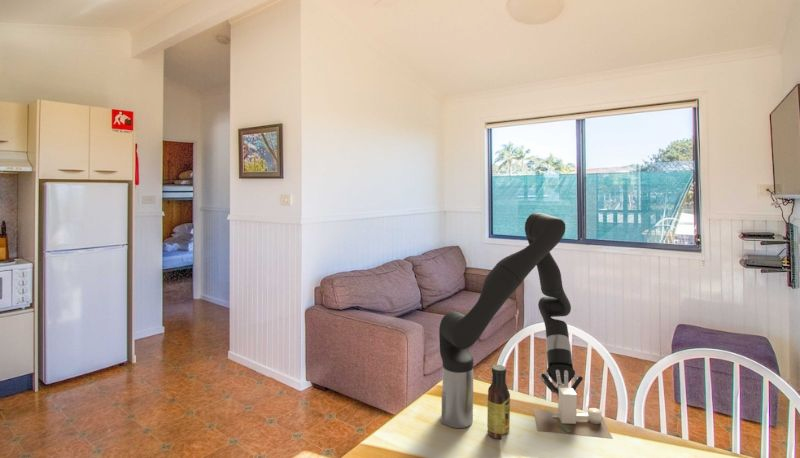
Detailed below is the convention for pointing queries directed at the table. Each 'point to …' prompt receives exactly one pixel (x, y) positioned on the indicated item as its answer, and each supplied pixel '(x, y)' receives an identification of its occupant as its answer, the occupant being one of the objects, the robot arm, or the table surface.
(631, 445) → the table surface
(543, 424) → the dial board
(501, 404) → the sauce bottle
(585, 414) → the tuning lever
